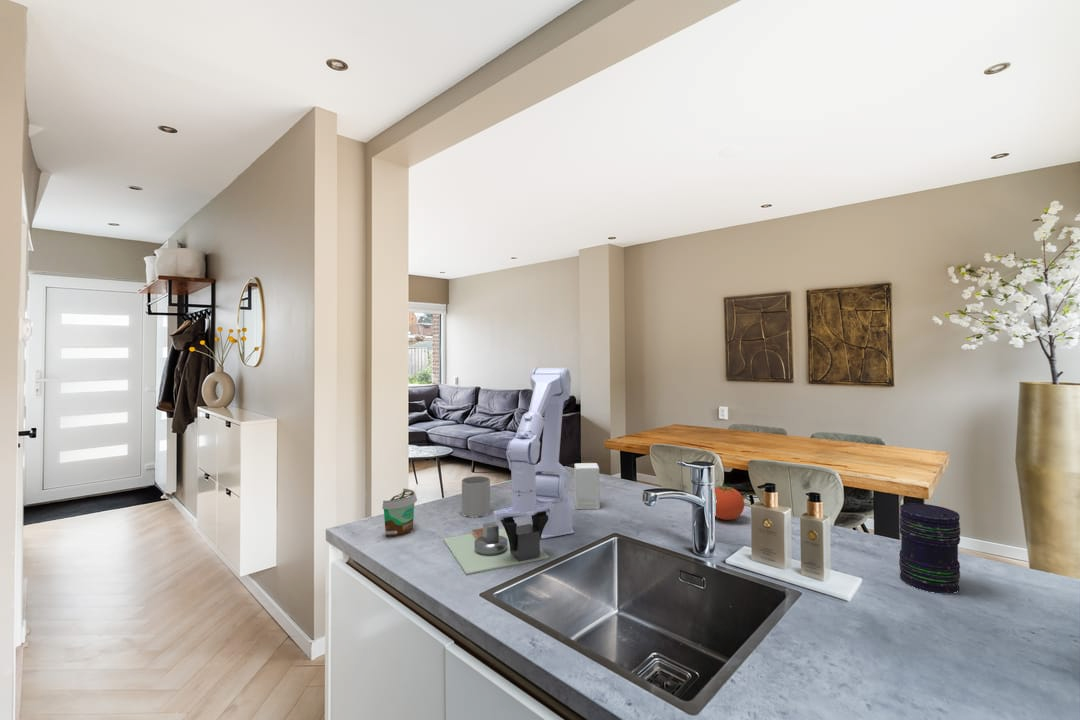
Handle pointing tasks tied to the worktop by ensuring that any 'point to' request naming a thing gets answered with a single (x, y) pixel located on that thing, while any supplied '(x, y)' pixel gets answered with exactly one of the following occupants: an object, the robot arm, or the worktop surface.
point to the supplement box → (587, 486)
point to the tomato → (728, 503)
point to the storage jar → (929, 547)
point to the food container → (399, 513)
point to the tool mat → (477, 563)
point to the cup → (476, 496)
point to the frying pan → (489, 540)
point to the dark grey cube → (526, 542)
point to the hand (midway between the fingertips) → (524, 546)
